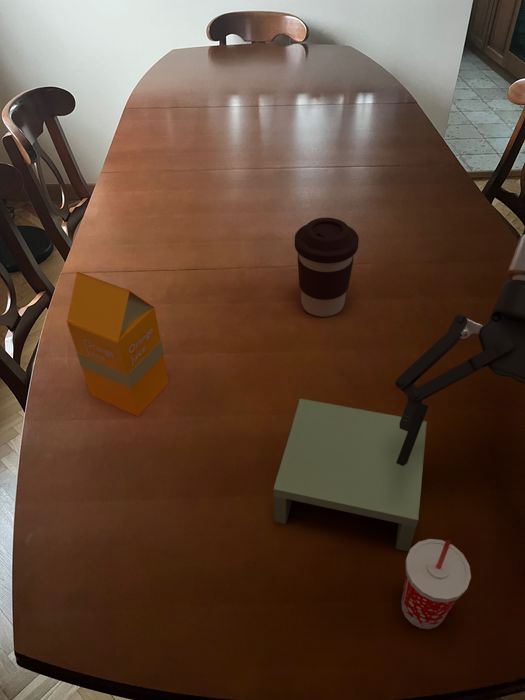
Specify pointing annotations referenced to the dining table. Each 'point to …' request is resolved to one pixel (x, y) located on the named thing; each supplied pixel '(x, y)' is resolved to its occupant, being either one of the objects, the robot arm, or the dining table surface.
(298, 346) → the dining table surface
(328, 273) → the coffee cup
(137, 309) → the orange juice
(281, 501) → the shelf
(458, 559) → the beverage cup
